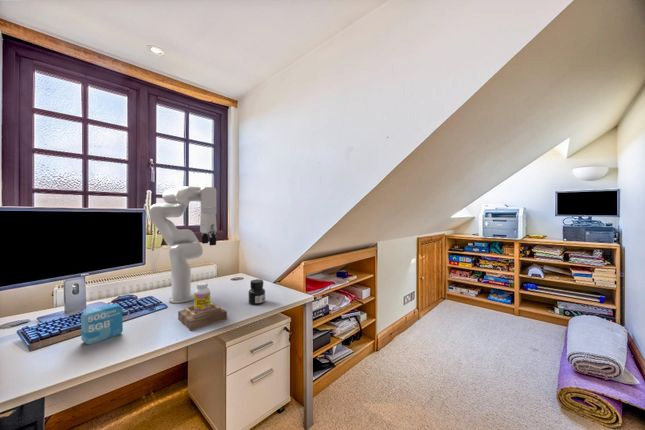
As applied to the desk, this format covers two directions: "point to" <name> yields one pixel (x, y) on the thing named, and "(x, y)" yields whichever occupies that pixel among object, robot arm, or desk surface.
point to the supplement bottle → (202, 298)
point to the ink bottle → (256, 292)
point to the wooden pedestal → (201, 316)
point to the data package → (101, 323)
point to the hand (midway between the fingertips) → (208, 244)
